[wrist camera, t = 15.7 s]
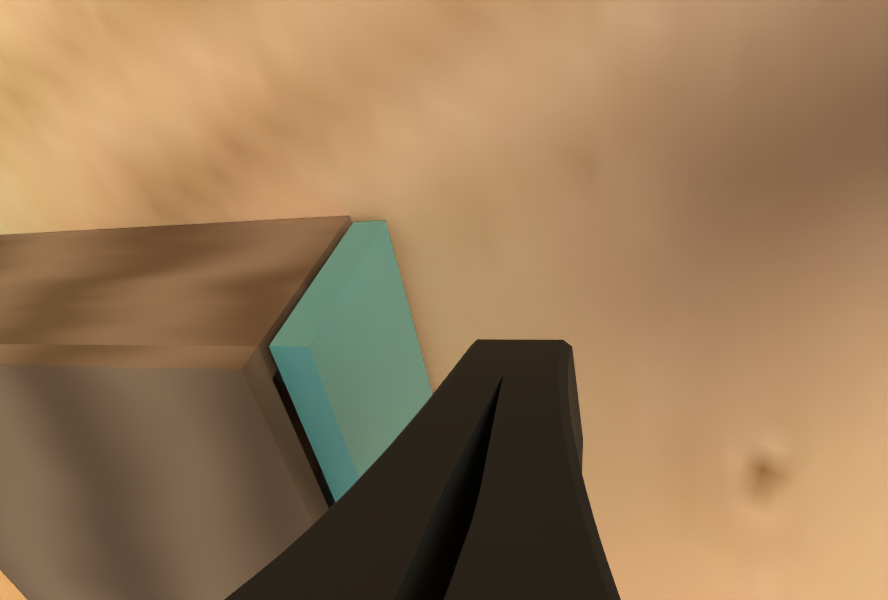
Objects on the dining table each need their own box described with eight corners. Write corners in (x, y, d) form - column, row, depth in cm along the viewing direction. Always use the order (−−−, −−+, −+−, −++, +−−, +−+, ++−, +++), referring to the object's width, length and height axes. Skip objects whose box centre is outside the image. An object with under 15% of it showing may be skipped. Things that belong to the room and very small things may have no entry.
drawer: (386, 218, 20) (308, 346, 16) (478, 558, 29) (445, 701, 24) (16, 238, 24) (-128, 343, 20) (195, 529, 33) (124, 646, 29)
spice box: (348, 215, 21) (241, 369, 15) (450, 549, 30) (404, 719, 24) (-10, 235, 25) (-190, 361, 20) (173, 521, 34) (82, 660, 29)
